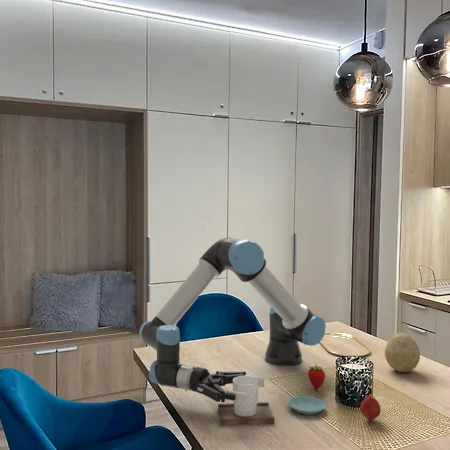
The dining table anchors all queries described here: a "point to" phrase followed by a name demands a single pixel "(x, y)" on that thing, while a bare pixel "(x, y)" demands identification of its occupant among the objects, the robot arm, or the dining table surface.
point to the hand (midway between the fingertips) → (255, 390)
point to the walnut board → (230, 418)
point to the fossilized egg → (402, 352)
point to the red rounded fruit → (370, 408)
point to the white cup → (251, 388)
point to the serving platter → (350, 337)
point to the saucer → (307, 404)
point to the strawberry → (316, 376)
